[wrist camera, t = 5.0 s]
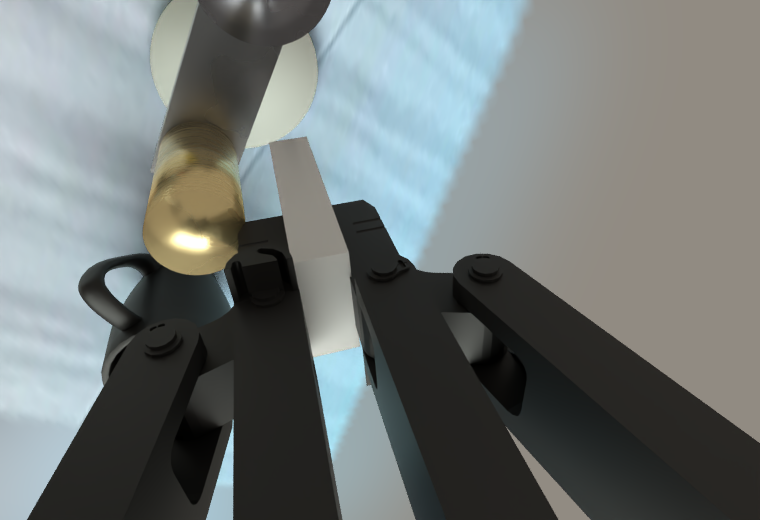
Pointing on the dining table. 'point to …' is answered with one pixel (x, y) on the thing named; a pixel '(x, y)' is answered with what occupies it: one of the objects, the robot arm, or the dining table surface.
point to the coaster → (285, 89)
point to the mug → (149, 301)
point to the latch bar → (215, 127)
